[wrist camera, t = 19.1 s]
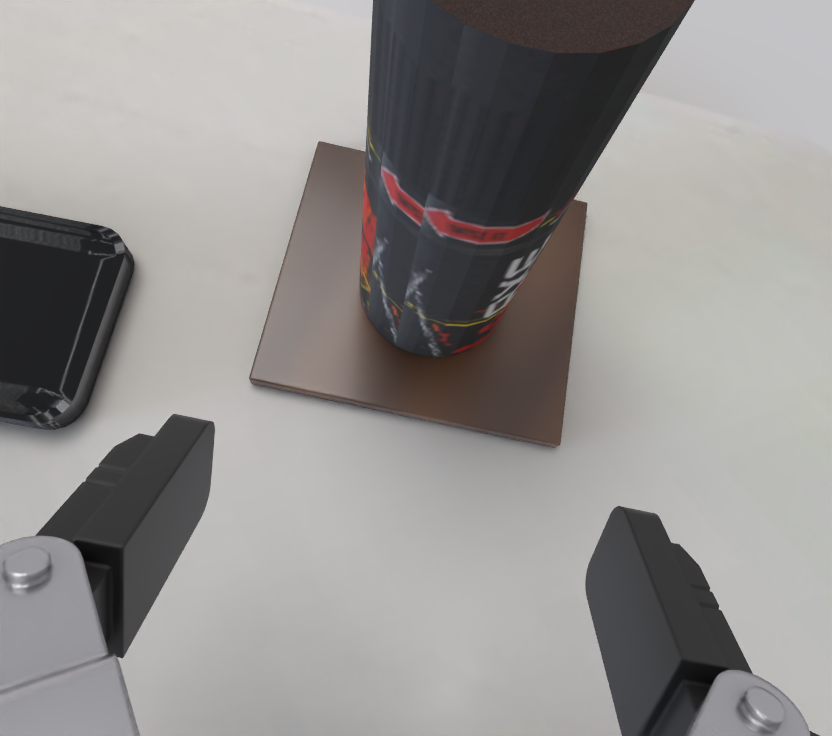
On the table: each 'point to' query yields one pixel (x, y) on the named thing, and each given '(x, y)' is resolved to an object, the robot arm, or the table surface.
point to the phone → (55, 313)
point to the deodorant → (486, 147)
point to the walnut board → (399, 369)
